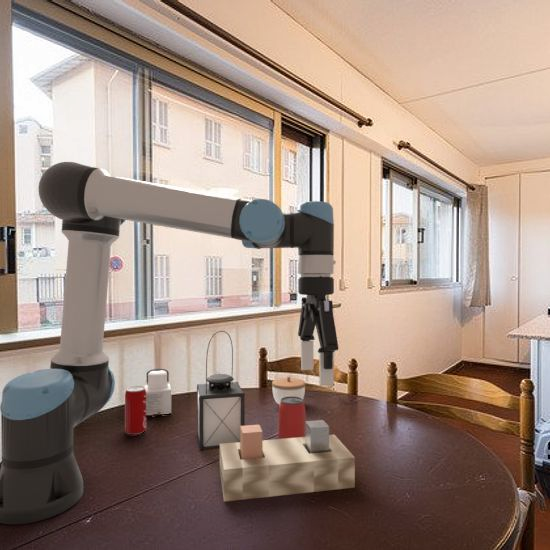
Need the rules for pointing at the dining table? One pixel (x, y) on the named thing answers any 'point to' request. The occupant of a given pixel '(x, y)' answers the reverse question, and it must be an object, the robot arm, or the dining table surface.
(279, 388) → the lidded jar
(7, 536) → the dining table surface
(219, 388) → the lantern
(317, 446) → the metal peg
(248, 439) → the terracotta peg
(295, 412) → the beer can
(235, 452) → the birch block
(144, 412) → the soda can
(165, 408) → the container
